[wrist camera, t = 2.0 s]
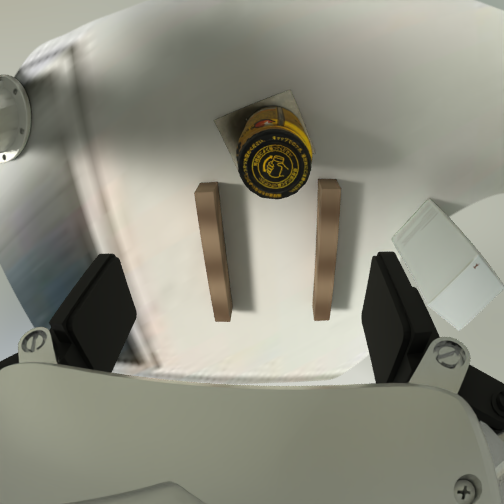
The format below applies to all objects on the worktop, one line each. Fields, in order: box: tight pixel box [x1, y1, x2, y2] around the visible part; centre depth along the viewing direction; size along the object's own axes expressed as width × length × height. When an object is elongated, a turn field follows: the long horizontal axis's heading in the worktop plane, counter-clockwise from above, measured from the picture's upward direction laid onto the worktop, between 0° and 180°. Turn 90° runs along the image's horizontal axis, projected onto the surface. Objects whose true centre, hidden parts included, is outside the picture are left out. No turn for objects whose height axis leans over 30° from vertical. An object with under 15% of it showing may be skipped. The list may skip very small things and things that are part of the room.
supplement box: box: [392, 198, 504, 331], centre depth 32 cm, size 7×7×13 cm
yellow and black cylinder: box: [214, 90, 316, 199], centre depth 27 cm, size 7×8×12 cm
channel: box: [194, 179, 341, 322], centre depth 38 cm, size 18×15×3 cm
